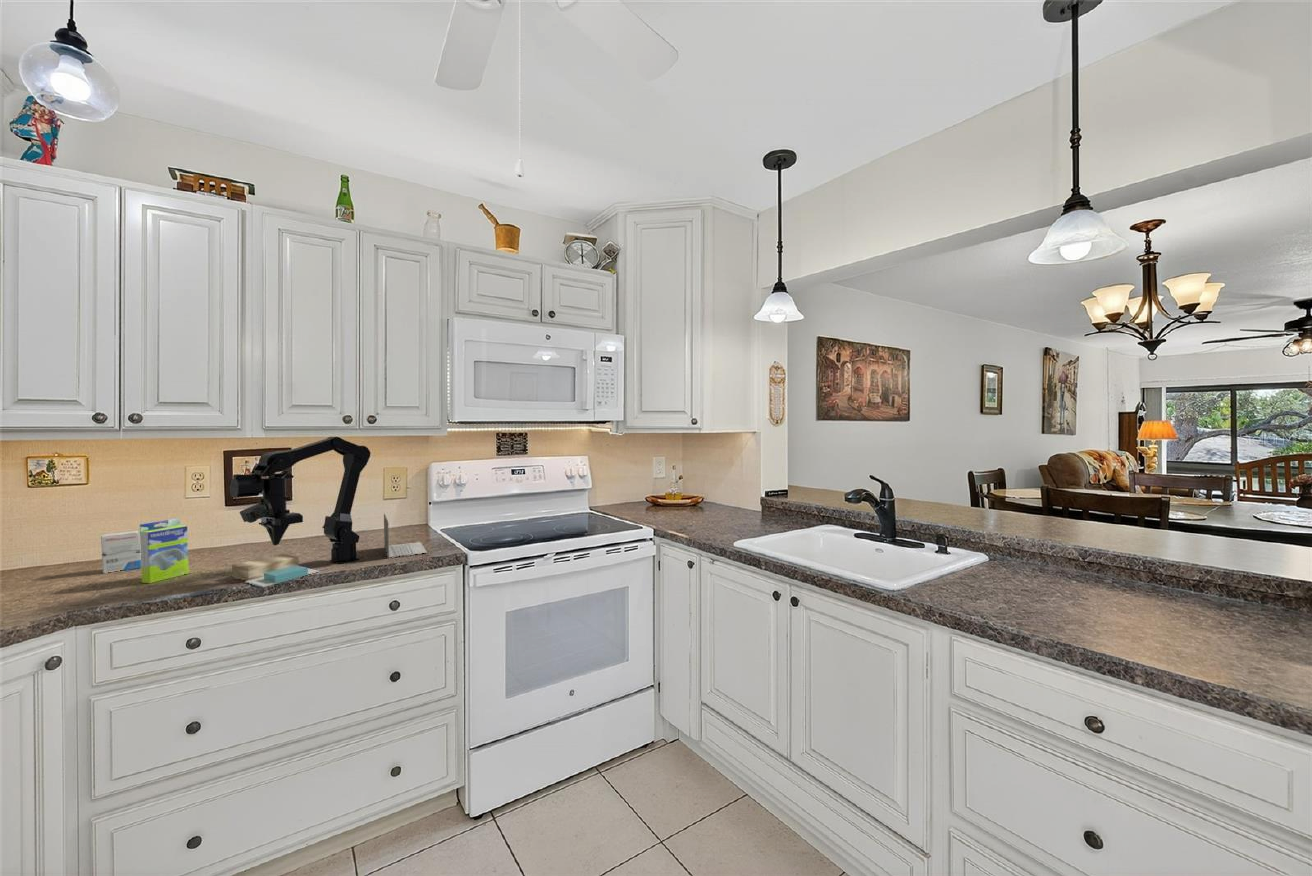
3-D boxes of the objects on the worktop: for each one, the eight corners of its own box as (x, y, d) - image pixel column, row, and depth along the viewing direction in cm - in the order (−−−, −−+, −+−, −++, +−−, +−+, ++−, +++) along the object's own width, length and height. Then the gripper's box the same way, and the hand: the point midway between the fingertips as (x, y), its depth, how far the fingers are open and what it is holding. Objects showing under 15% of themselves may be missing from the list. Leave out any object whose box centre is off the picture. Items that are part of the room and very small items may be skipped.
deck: (282, 565, 171) (282, 553, 170) (298, 569, 167) (298, 557, 166) (232, 577, 158) (232, 564, 158) (248, 581, 154) (248, 568, 154)
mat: (302, 568, 167) (302, 567, 167) (319, 572, 163) (319, 570, 163) (245, 583, 153) (245, 581, 153) (262, 587, 149) (262, 585, 149)
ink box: (141, 565, 172) (139, 529, 171) (141, 568, 168) (139, 532, 168) (103, 570, 166) (101, 534, 165) (102, 574, 162) (100, 536, 162)
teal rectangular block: (307, 567, 160) (307, 574, 160) (296, 565, 162) (296, 571, 162) (275, 575, 152) (275, 582, 152) (264, 573, 154) (264, 579, 154)
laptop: (427, 554, 186) (426, 518, 185) (387, 559, 179) (386, 521, 179) (420, 543, 201) (420, 510, 201) (384, 548, 195) (383, 513, 194)
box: (149, 584, 152) (146, 525, 152) (140, 582, 154) (137, 524, 153) (190, 573, 162) (188, 518, 162) (181, 572, 164) (179, 517, 163)
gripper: (226, 495, 155) (228, 547, 156) (261, 499, 147) (263, 554, 148) (268, 490, 165) (269, 539, 166) (303, 494, 157) (304, 546, 158)
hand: (275, 545), depth 159 cm, fingers closed
